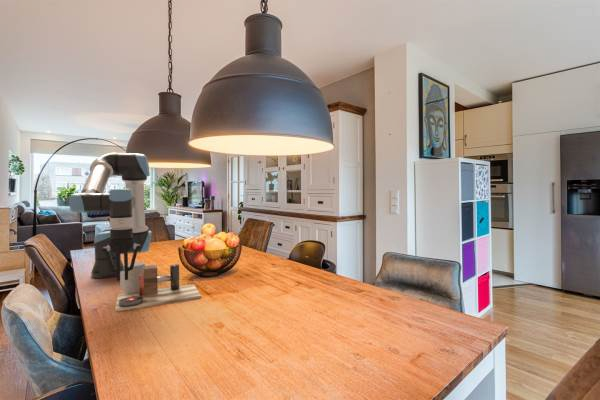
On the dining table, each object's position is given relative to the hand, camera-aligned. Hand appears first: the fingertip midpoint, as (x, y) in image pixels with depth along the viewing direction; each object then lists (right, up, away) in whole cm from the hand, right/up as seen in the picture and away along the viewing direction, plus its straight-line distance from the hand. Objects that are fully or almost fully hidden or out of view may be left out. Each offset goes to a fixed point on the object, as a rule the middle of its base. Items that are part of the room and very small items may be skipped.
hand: (122, 288), depth 118 cm
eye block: (+11, -6, +7) cm, 14 cm away
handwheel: (+5, -5, -2) cm, 7 cm away
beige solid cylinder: (-3, -6, +15) cm, 16 cm away
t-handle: (+9, -4, +11) cm, 15 cm away
